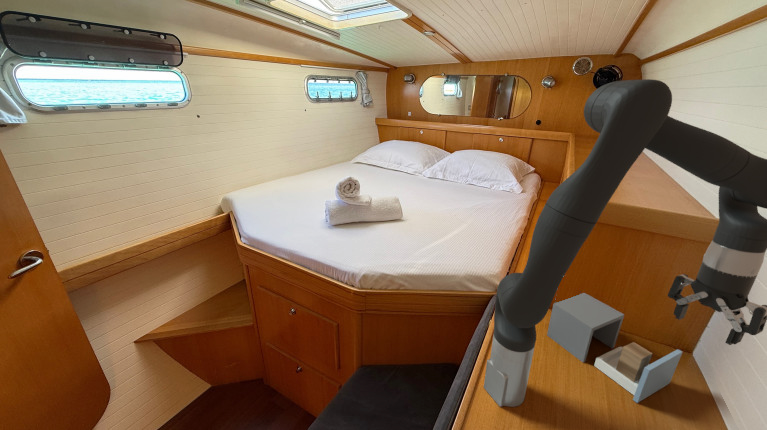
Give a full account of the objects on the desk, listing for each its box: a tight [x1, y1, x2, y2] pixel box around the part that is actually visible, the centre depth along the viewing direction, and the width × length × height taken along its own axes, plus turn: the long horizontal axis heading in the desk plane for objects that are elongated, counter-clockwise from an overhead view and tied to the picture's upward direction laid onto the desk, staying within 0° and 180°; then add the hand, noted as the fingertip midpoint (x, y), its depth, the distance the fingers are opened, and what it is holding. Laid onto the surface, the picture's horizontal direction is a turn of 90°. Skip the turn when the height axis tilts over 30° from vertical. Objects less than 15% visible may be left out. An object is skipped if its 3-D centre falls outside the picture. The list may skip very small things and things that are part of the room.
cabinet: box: [546, 292, 625, 363], centre depth 91 cm, size 14×12×12 cm
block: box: [616, 341, 653, 382], centre depth 79 cm, size 4×4×8 cm
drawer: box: [593, 345, 683, 404], centre depth 79 cm, size 14×12×11 cm
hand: (703, 329), depth 66 cm, fingers open, 8 cm apart
